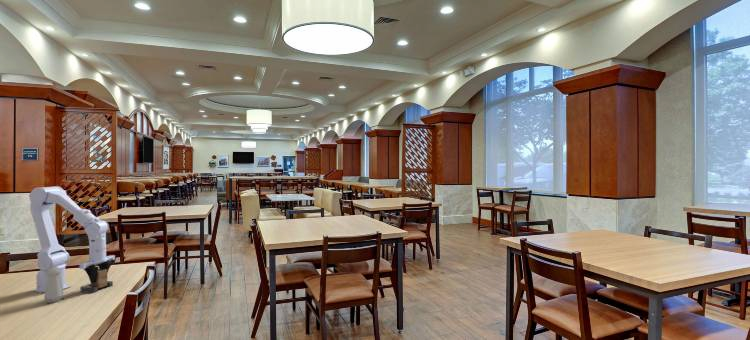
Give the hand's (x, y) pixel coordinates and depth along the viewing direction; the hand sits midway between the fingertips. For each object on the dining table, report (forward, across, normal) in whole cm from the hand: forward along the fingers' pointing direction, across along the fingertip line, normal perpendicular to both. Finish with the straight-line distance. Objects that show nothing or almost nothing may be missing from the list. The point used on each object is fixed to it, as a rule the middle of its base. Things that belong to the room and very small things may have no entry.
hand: (98, 280), depth 156 cm
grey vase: (+4, -15, +4) cm, 16 cm away
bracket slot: (+3, 0, 0) cm, 3 cm away
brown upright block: (+2, 0, 0) cm, 2 cm away
